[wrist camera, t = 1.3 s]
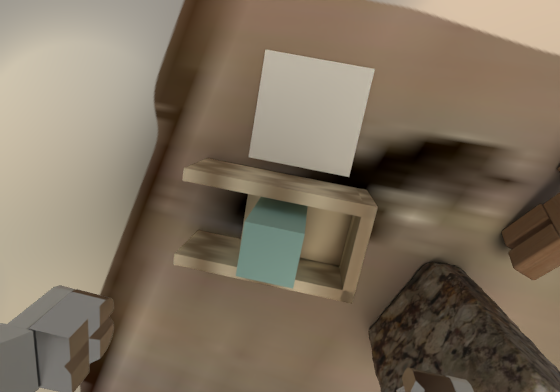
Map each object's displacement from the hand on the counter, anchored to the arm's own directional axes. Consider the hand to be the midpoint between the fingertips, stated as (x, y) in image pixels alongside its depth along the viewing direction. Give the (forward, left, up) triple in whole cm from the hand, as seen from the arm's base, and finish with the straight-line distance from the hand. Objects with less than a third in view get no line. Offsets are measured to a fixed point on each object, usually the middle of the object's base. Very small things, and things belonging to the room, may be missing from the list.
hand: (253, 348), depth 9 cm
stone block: (-18, -9, -29) cm, 36 cm away
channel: (-4, +4, -29) cm, 30 cm away
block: (-5, +3, -27) cm, 28 cm away
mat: (+6, -2, -29) cm, 30 cm away
